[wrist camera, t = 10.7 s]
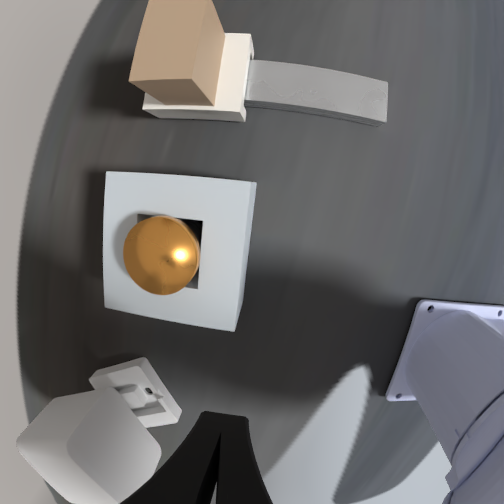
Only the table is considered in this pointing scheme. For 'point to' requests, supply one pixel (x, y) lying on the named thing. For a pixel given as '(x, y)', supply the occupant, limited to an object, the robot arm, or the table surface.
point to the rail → (316, 92)
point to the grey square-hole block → (212, 244)
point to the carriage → (190, 62)
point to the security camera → (101, 435)
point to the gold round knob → (163, 253)
